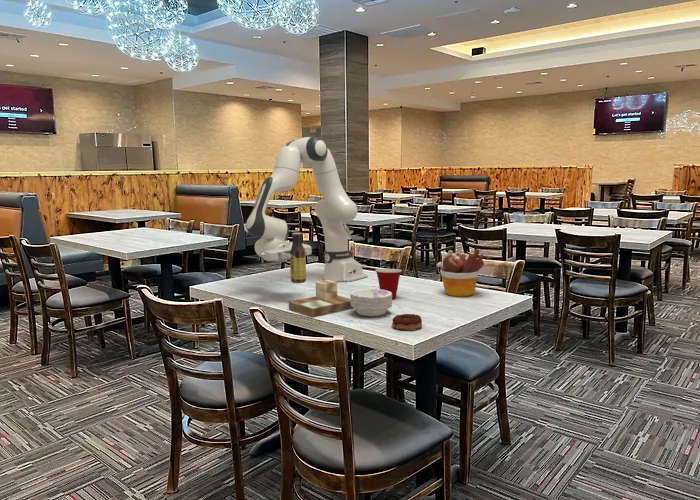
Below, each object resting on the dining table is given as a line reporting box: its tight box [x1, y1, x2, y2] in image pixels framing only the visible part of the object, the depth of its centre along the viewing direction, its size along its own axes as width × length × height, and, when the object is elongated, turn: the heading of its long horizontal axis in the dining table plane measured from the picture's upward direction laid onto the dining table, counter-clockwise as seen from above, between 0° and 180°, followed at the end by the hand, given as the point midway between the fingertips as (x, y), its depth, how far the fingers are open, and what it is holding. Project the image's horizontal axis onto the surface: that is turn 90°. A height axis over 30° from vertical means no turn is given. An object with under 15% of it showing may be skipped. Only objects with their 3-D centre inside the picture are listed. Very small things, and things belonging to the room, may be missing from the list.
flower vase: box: [322, 222, 354, 241], centre depth 287 cm, size 13×18×25 cm
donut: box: [391, 313, 423, 331], centre depth 178 cm, size 10×10×4 cm
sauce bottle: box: [289, 232, 307, 284], centre depth 213 cm, size 6×6×20 cm
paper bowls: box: [349, 288, 393, 317], centre depth 196 cm, size 15×15×8 cm
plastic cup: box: [374, 268, 403, 300], centre depth 219 cm, size 11×11×12 cm
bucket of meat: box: [436, 248, 485, 298], centre depth 222 cm, size 20×16×20 cm
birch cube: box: [314, 280, 338, 300], centre depth 210 cm, size 6×6×6 cm
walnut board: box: [288, 294, 355, 319], centre depth 204 cm, size 20×16×3 cm
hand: (298, 254), depth 212 cm, fingers closed on sauce bottle, 6 cm apart
